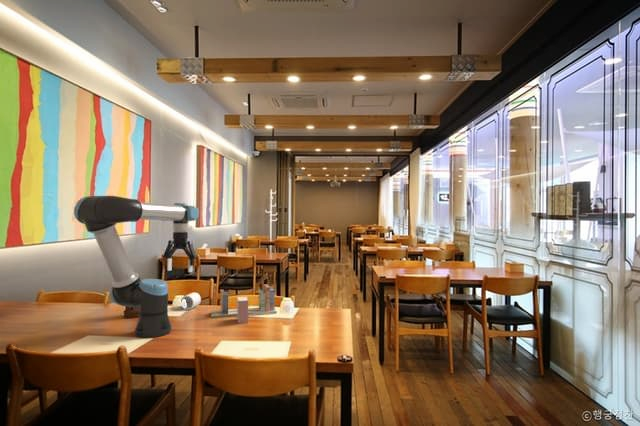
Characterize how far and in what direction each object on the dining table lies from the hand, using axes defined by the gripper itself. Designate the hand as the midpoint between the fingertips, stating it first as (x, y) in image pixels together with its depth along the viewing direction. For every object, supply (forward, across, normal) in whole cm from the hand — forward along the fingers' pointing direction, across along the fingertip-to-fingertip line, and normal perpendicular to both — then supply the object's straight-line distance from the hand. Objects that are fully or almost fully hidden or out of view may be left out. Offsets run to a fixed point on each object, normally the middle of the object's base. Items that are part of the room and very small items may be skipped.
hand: (179, 271), depth 202 cm
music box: (+23, +19, +11) cm, 32 cm away
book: (+23, -39, +1) cm, 45 cm away
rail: (+22, -32, -13) cm, 41 cm away
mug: (+23, +4, -13) cm, 27 cm away
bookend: (+21, -24, -7) cm, 33 cm away
